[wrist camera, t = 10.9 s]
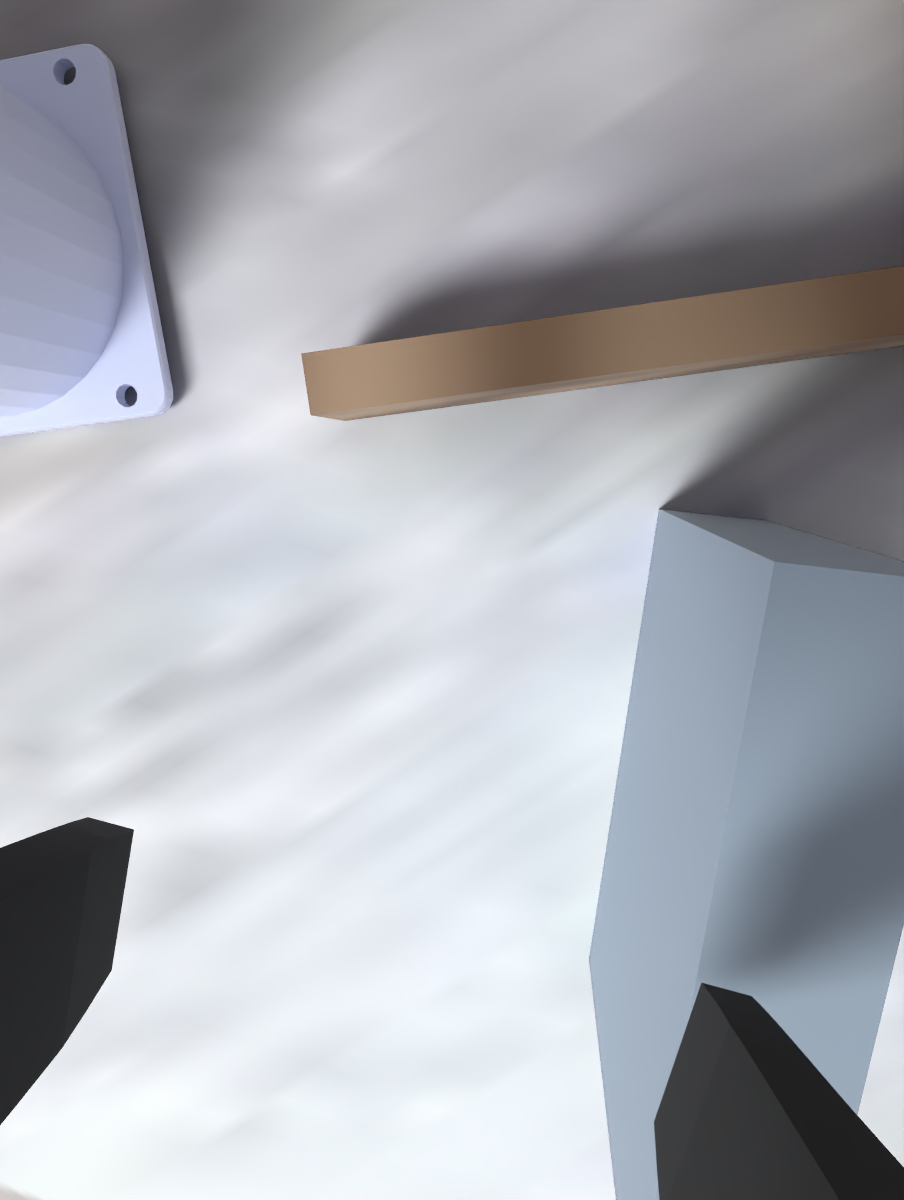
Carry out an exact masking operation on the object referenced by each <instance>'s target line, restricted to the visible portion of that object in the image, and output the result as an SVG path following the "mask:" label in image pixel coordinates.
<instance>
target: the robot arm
mask: <svg viewBox="0 0 904 1200" xmlns="http://www.w3.org/2000/svg"><path fill="white" fill-rule="evenodd" d="M72 67H75V69H76V77H75V78H74V80H73V82H72V83H70V84H68V85H65V84H64V75H65V73H66V71H67V70H68V69H70V68H72ZM130 386H132V387H133V388H135V390H136V392H137V401H136V403H135V404H134V405H133V406H131V407H130V406H129V405H128V404H127V403H126V401H125V391H126V390H127V388H128V387H130ZM172 401H173V387H172V382H171V376H170V371H169V365H168V360H167V354H166V349H165V343H164V338H163V332H162V327H161V321H160V316H159V310H158V305H157V299H156V294H155V288H154V283H153V277H152V272H151V266H150V260H149V255H148V249H147V244H146V238H145V233H144V227H143V222H142V216H141V211H140V205H139V200H138V194H137V189H136V183H135V178H134V172H133V167H132V161H131V156H130V150H129V145H128V139H127V134H126V128H125V122H124V117H123V111H122V106H121V100H120V95H119V89H118V84H117V78H116V73H115V69H114V66H113V64H112V61H111V60H110V59H109V58H108V57H107V56H106V54H104V53H103V52H102V51H101V50H100V49H99V48H98V47H96V46H94V45H92V44H78V45H73V46H68V47H63V48H58V49H53V50H48V51H43V52H38V53H34V54H29V55H24V56H19V57H14V58H9V59H4V60H0V437H4V436H11V435H18V434H25V433H33V432H40V431H47V430H54V429H61V428H68V427H76V426H83V425H90V424H97V423H104V422H112V421H119V420H126V419H133V418H140V417H147V416H155V415H159V414H162V413H165V412H166V411H167V410H168V409H169V408H170V406H171V404H172ZM133 832H134V830H133V829H130V828H126V827H122V826H118V825H115V824H111V823H107V822H104V821H100V820H96V819H92V818H89V817H87V818H84V819H81V820H77V821H74V822H71V823H68V824H65V825H62V826H59V827H56V828H53V829H50V830H47V831H45V832H42V833H39V834H36V835H34V836H31V837H28V838H26V839H23V840H20V841H18V842H15V843H12V844H10V845H7V846H4V847H2V848H0V1125H1V1124H2V1122H3V1121H4V1120H5V1119H6V1117H7V1116H8V1115H9V1114H10V1112H11V1111H12V1110H13V1109H14V1108H15V1106H16V1105H17V1104H18V1103H19V1101H20V1100H21V1099H22V1098H23V1096H24V1095H25V1094H26V1093H27V1091H28V1090H29V1089H30V1088H31V1086H32V1085H33V1084H34V1083H35V1081H36V1080H37V1079H38V1078H39V1076H40V1075H41V1074H42V1073H43V1071H44V1070H45V1069H46V1068H47V1066H48V1065H49V1064H50V1063H51V1061H52V1060H53V1059H54V1057H55V1056H56V1055H57V1054H58V1052H59V1051H60V1050H61V1049H62V1047H63V1046H64V1044H65V1043H66V1041H67V1040H68V1038H69V1037H70V1035H71V1034H72V1032H73V1031H74V1029H75V1027H76V1026H77V1024H78V1023H79V1021H80V1020H81V1018H82V1017H83V1015H84V1014H85V1012H86V1011H87V1009H88V1007H89V1006H90V1004H91V1003H92V1001H93V999H94V998H95V996H96V994H97V993H98V991H99V990H100V988H101V986H102V985H103V983H104V982H105V980H106V978H107V977H108V975H109V973H110V972H111V970H112V964H113V957H114V951H115V945H116V939H117V932H118V926H119V920H120V913H121V907H122V901H123V895H124V888H125V882H126V876H127V869H128V863H129V857H130V851H131V844H132V838H133ZM654 1132H655V1147H656V1163H657V1177H658V1189H659V1200H904V1167H903V1166H902V1165H901V1164H900V1163H899V1162H898V1161H897V1160H896V1158H895V1157H894V1156H893V1155H892V1154H891V1153H890V1152H889V1151H888V1149H887V1148H886V1147H885V1146H884V1145H883V1144H882V1143H881V1142H880V1141H879V1139H878V1138H877V1137H876V1136H875V1135H874V1134H873V1133H872V1131H871V1130H870V1129H869V1128H868V1127H867V1126H866V1125H865V1124H864V1122H863V1121H862V1120H861V1119H860V1118H859V1117H858V1116H857V1114H856V1113H855V1112H854V1111H853V1110H852V1109H851V1108H850V1106H849V1105H848V1104H847V1103H846V1102H845V1101H844V1099H843V1098H842V1097H841V1096H840V1095H839V1094H838V1093H837V1091H836V1090H835V1089H834V1088H833V1087H832V1086H831V1084H830V1083H829V1082H828V1081H827V1080H826V1079H825V1077H824V1076H823V1075H822V1074H821V1073H820V1072H819V1071H818V1069H817V1068H816V1067H815V1066H814V1065H813V1064H812V1062H811V1061H810V1060H809V1059H808V1058H807V1057H806V1055H805V1054H804V1053H803V1052H802V1051H801V1050H800V1048H799V1047H798V1046H797V1045H796V1044H795V1043H794V1042H793V1040H792V1039H791V1038H790V1037H789V1036H788V1035H787V1034H786V1032H785V1031H784V1030H783V1029H782V1028H781V1027H780V1026H779V1024H778V1023H777V1022H776V1021H775V1020H774V1019H773V1018H772V1017H771V1016H770V1014H769V1013H768V1012H767V1011H766V1010H765V1009H764V1008H763V1007H762V1006H761V1005H760V1004H759V1003H758V1002H757V1001H756V1000H755V999H754V998H753V997H752V996H750V995H746V994H742V993H739V992H735V991H731V990H727V989H724V988H720V987H716V986H713V985H709V984H705V983H701V985H700V988H699V991H698V994H697V997H696V1000H695V1003H694V1006H693V1009H692V1012H691V1015H690V1018H689V1021H688V1023H687V1026H686V1029H685V1032H684V1035H683V1038H682V1041H681V1044H680V1047H679V1050H678V1053H677V1056H676V1059H675V1062H674V1064H673V1067H672V1070H671V1073H670V1076H669V1079H668V1082H667V1085H666V1088H665V1091H664V1094H663V1097H662V1100H661V1103H660V1105H659V1108H658V1111H657V1114H656V1117H655V1120H654Z"/></svg>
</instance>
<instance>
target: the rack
mask: <svg viewBox="0 0 904 1200" xmlns="http://www.w3.org/2000/svg"><path fill="white" fill-rule="evenodd" d="M898 346H904V266H899V267H892V268H886V269H879V270H872V271H865V272H858V273H851V274H844V275H837V276H831V277H824V278H817V279H810V280H803V281H796V282H789V283H783V284H776V285H769V286H762V287H755V288H748V289H741V290H735V291H728V292H721V293H714V294H707V295H700V296H693V297H687V298H680V299H673V300H666V301H659V302H652V303H645V304H638V305H632V306H625V307H618V308H611V309H604V310H597V311H590V312H584V313H577V314H570V315H563V316H556V317H549V318H542V319H536V320H529V321H522V322H515V323H508V324H501V325H494V326H488V327H481V328H474V329H467V330H460V331H453V332H446V333H440V334H433V335H426V336H419V337H412V338H405V339H398V340H391V341H385V342H378V343H371V344H364V345H357V346H350V347H343V348H337V349H330V350H323V351H316V352H309V353H302V361H303V368H304V374H305V381H306V387H307V394H308V401H309V407H310V414H311V415H313V416H320V417H326V418H332V419H338V420H344V421H347V420H354V419H362V418H369V417H376V416H384V415H391V414H399V413H406V412H414V411H421V410H429V409H436V408H443V407H451V406H458V405H466V404H473V403H481V402H488V401H496V400H503V399H511V398H518V397H525V396H533V395H540V394H548V393H555V392H563V391H570V390H578V389H585V388H592V387H600V386H607V385H615V384H622V383H630V382H637V381H645V380H652V379H659V378H667V377H674V376H682V375H689V374H697V373H704V372H712V371H719V370H727V369H734V368H741V367H749V366H756V365H764V364H771V363H779V362H786V361H794V360H801V359H808V358H816V357H823V356H831V355H838V354H846V353H853V352H861V351H868V350H876V349H883V348H890V347H898Z"/></svg>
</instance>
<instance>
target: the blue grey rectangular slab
mask: <svg viewBox="0 0 904 1200" xmlns="http://www.w3.org/2000/svg"><path fill="white" fill-rule="evenodd" d="M903 925H904V561H900V560H897V559H894V558H890V557H887V556H884V555H880V554H877V553H874V552H870V551H867V550H864V549H860V548H857V547H853V546H850V545H847V544H843V543H840V542H837V541H833V540H830V539H827V538H823V537H820V536H816V535H813V534H810V533H806V532H803V531H800V530H796V529H793V528H790V527H786V526H783V525H779V524H776V523H773V522H769V521H764V520H755V519H746V518H737V517H727V516H718V515H709V514H700V513H691V512H682V511H673V510H664V509H659V512H658V518H657V525H656V531H655V538H654V544H653V551H652V557H651V563H650V570H649V576H648V583H647V589H646V596H645V602H644V609H643V615H642V621H641V628H640V634H639V641H638V647H637V654H636V660H635V667H634V673H633V679H632V686H631V692H630V699H629V705H628V712H627V718H626V724H625V731H624V737H623V744H622V750H621V757H620V763H619V770H618V776H617V782H616V789H615V795H614V802H613V808H612V815H611V821H610V827H609V834H608V840H607V847H606V853H605V860H604V866H603V873H602V879H601V885H600V892H599V898H598V905H597V911H596V918H595V924H594V931H593V937H592V943H591V950H590V956H589V964H590V972H591V981H592V990H593V999H594V1008H595V1017H596V1026H597V1035H598V1043H599V1052H600V1061H601V1070H602V1079H603V1088H604V1097H605V1105H606V1114H607V1123H608V1132H609V1141H610V1150H611V1159H612V1168H613V1176H614V1185H615V1194H616V1200H659V1189H658V1177H657V1163H656V1147H655V1132H654V1120H655V1117H656V1114H657V1111H658V1108H659V1105H660V1103H661V1100H662V1097H663V1094H664V1091H665V1088H666V1085H667V1082H668V1079H669V1076H670V1073H671V1070H672V1067H673V1064H674V1062H675V1059H676V1056H677V1053H678V1050H679V1047H680V1044H681V1041H682V1038H683V1035H684V1032H685V1029H686V1026H687V1023H688V1021H689V1018H690V1015H691V1012H692V1009H693V1006H694V1003H695V1000H696V997H697V994H698V991H699V988H700V985H701V983H705V984H709V985H713V986H716V987H720V988H724V989H727V990H731V991H735V992H739V993H742V994H746V995H750V996H752V997H753V998H754V999H755V1000H756V1001H757V1002H758V1003H759V1004H760V1005H761V1006H762V1007H763V1008H764V1009H765V1010H766V1011H767V1012H768V1013H769V1014H770V1016H771V1017H772V1018H773V1019H774V1020H775V1021H776V1022H777V1023H778V1024H779V1026H780V1027H781V1028H782V1029H783V1030H784V1031H785V1032H786V1034H787V1035H788V1036H789V1037H790V1038H791V1039H792V1040H793V1042H794V1043H795V1044H796V1045H797V1046H798V1047H799V1048H800V1050H801V1051H802V1052H803V1053H804V1054H805V1055H806V1057H807V1058H808V1059H809V1060H810V1061H811V1062H812V1064H813V1065H814V1066H815V1067H816V1068H817V1069H818V1071H819V1072H820V1073H821V1074H822V1075H823V1076H824V1077H825V1079H826V1080H827V1081H828V1082H829V1083H830V1084H831V1086H832V1087H833V1088H834V1089H835V1090H836V1091H837V1093H838V1094H839V1095H840V1096H841V1097H842V1098H843V1099H844V1101H845V1102H846V1103H847V1104H848V1105H849V1106H850V1108H851V1109H852V1110H853V1111H854V1112H855V1113H856V1114H858V1110H859V1106H860V1102H861V1097H862V1093H863V1089H864V1085H865V1081H866V1077H867V1073H868V1069H869V1064H870V1060H871V1056H872V1052H873V1048H874V1044H875V1040H876V1036H877V1032H878V1027H879V1023H880V1019H881V1015H882V1011H883V1007H884V1003H885V999H886V994H887V990H888V986H889V982H890V978H891V974H892V970H893V966H894V962H895V957H896V953H897V949H898V945H899V941H900V937H901V933H902V929H903Z"/></svg>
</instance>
